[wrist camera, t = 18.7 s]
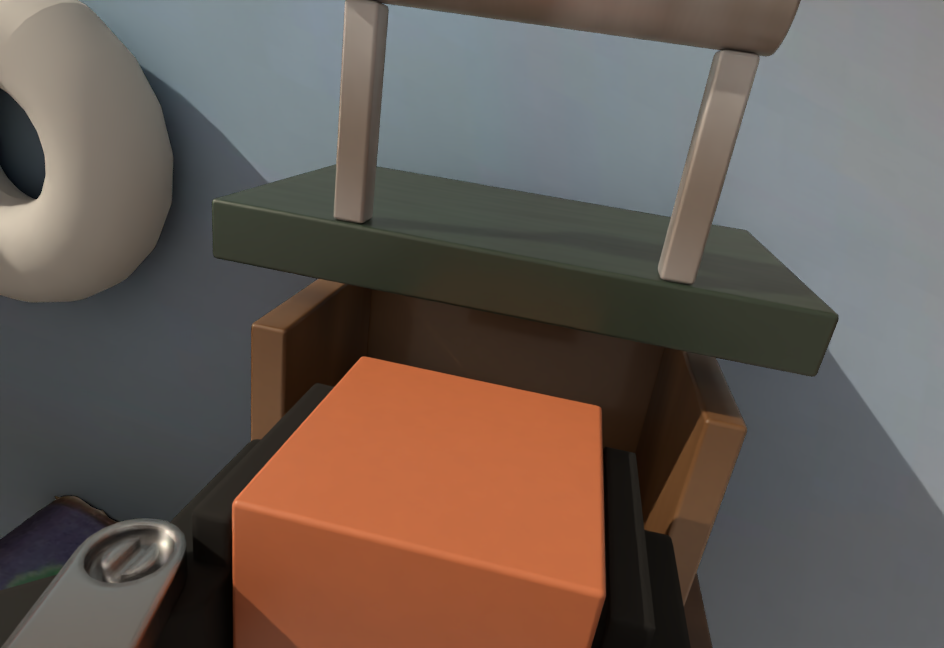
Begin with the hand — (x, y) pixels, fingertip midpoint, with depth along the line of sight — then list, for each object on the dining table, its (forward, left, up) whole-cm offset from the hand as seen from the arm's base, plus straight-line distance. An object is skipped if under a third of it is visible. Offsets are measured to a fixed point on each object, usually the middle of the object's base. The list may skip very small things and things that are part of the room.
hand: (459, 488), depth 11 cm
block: (0, 0, 0) cm, 0 cm away
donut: (-3, -16, -9) cm, 19 cm away
